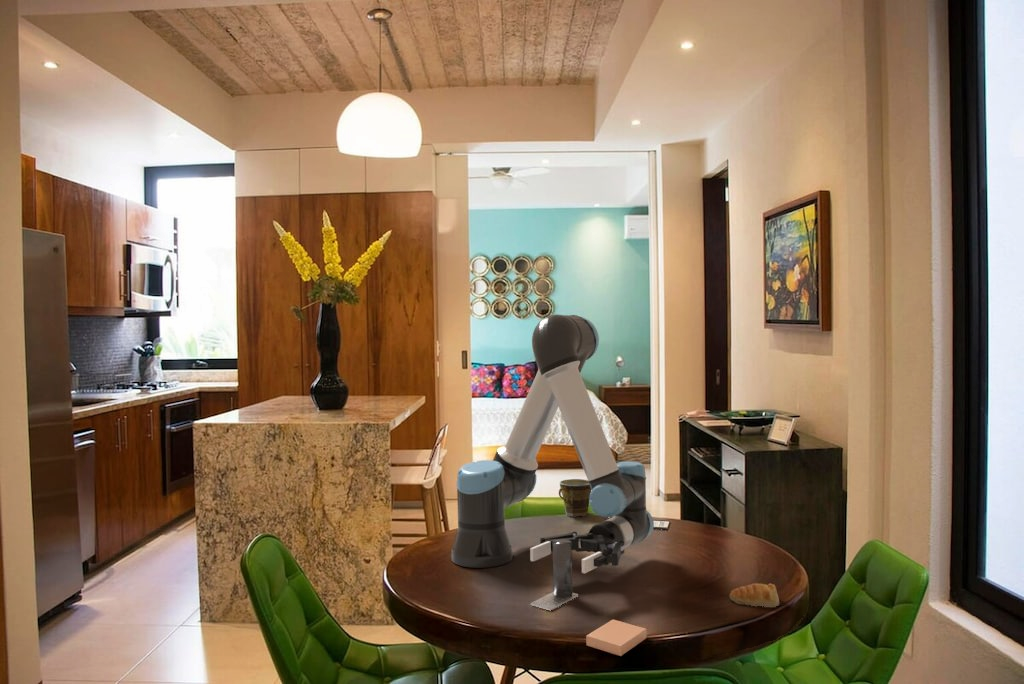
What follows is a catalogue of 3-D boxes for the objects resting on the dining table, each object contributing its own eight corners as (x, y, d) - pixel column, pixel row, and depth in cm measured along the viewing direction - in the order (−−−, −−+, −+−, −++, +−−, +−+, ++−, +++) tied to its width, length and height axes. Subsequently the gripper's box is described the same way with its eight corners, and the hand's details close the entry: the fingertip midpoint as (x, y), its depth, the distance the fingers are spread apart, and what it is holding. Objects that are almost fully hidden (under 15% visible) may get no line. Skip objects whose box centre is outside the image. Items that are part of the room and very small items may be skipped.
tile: (613, 630, 131) (586, 647, 124) (612, 619, 131) (586, 635, 124) (646, 640, 126) (620, 658, 119) (646, 628, 126) (620, 646, 119)
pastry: (733, 608, 140) (732, 589, 140) (726, 596, 147) (726, 578, 147) (781, 609, 139) (781, 590, 139) (773, 597, 145) (772, 578, 146)
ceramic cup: (574, 509, 222) (573, 477, 222) (599, 514, 215) (598, 481, 215) (547, 517, 213) (546, 484, 213) (572, 522, 206) (571, 488, 206)
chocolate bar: (608, 516, 210) (669, 520, 204) (608, 520, 210) (669, 523, 204) (602, 524, 201) (666, 528, 196) (602, 527, 201) (666, 532, 196)
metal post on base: (530, 606, 142) (529, 549, 142) (558, 591, 150) (557, 538, 150) (550, 611, 139) (549, 553, 139) (578, 596, 147) (577, 541, 147)
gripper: (658, 562, 154) (608, 590, 138) (566, 543, 170) (511, 567, 153) (657, 528, 154) (607, 553, 138) (566, 513, 170) (510, 533, 153)
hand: (556, 560), depth 145 cm, fingers open, 12 cm apart
